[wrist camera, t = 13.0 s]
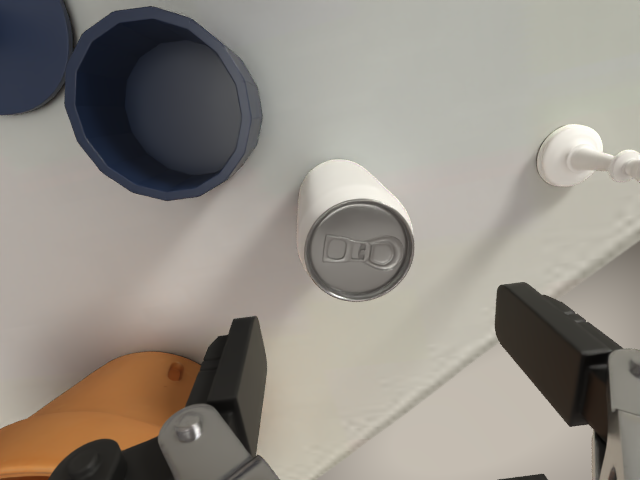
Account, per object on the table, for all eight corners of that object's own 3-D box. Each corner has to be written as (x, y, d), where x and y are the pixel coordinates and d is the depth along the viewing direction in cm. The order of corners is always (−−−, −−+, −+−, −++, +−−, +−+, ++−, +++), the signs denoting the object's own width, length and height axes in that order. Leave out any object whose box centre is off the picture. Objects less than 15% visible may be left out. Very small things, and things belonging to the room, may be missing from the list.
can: (370, 238, 31) (409, 313, 19) (294, 231, 30) (290, 304, 19) (383, 162, 28) (435, 197, 17) (302, 153, 28) (301, 183, 17)
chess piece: (592, 182, 30) (725, 215, 20) (533, 189, 30) (640, 226, 20) (601, 120, 28) (751, 125, 19) (539, 128, 28) (658, 137, 19)
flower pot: (1, 402, 35) (-200, 598, 21) (147, 273, 31) (19, 407, 17) (167, 509, 41) (98, 715, 27) (306, 412, 37) (309, 595, 23)
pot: (98, 42, 25) (34, 21, 19) (247, 22, 25) (229, -5, 19) (142, 189, 28) (100, 209, 22) (272, 172, 28) (264, 188, 22)
